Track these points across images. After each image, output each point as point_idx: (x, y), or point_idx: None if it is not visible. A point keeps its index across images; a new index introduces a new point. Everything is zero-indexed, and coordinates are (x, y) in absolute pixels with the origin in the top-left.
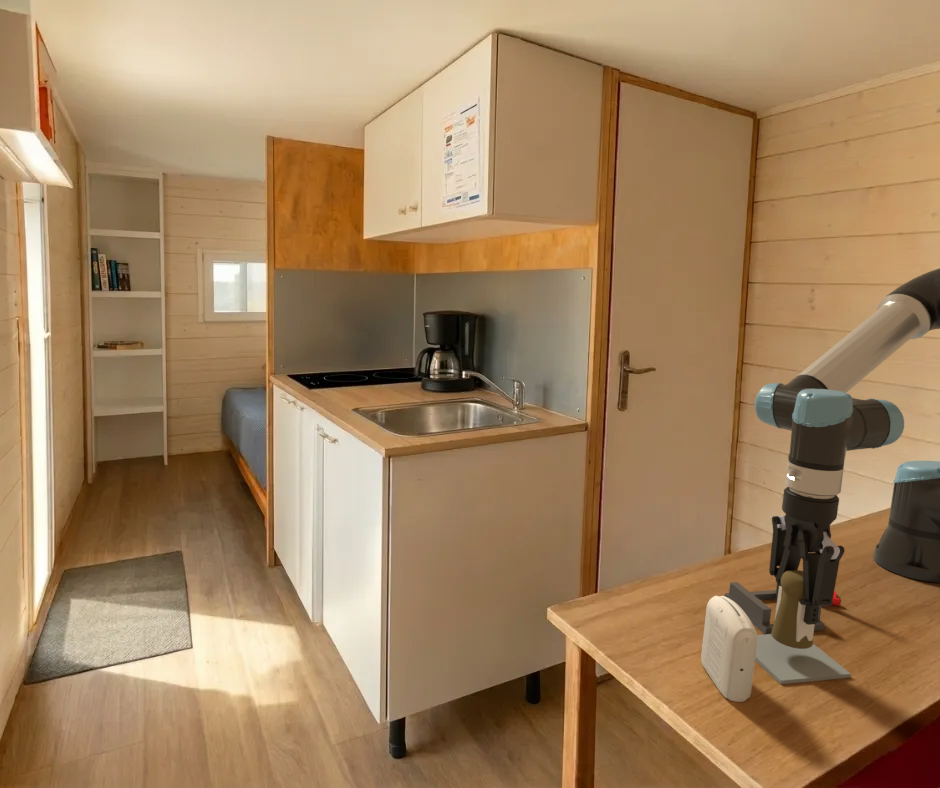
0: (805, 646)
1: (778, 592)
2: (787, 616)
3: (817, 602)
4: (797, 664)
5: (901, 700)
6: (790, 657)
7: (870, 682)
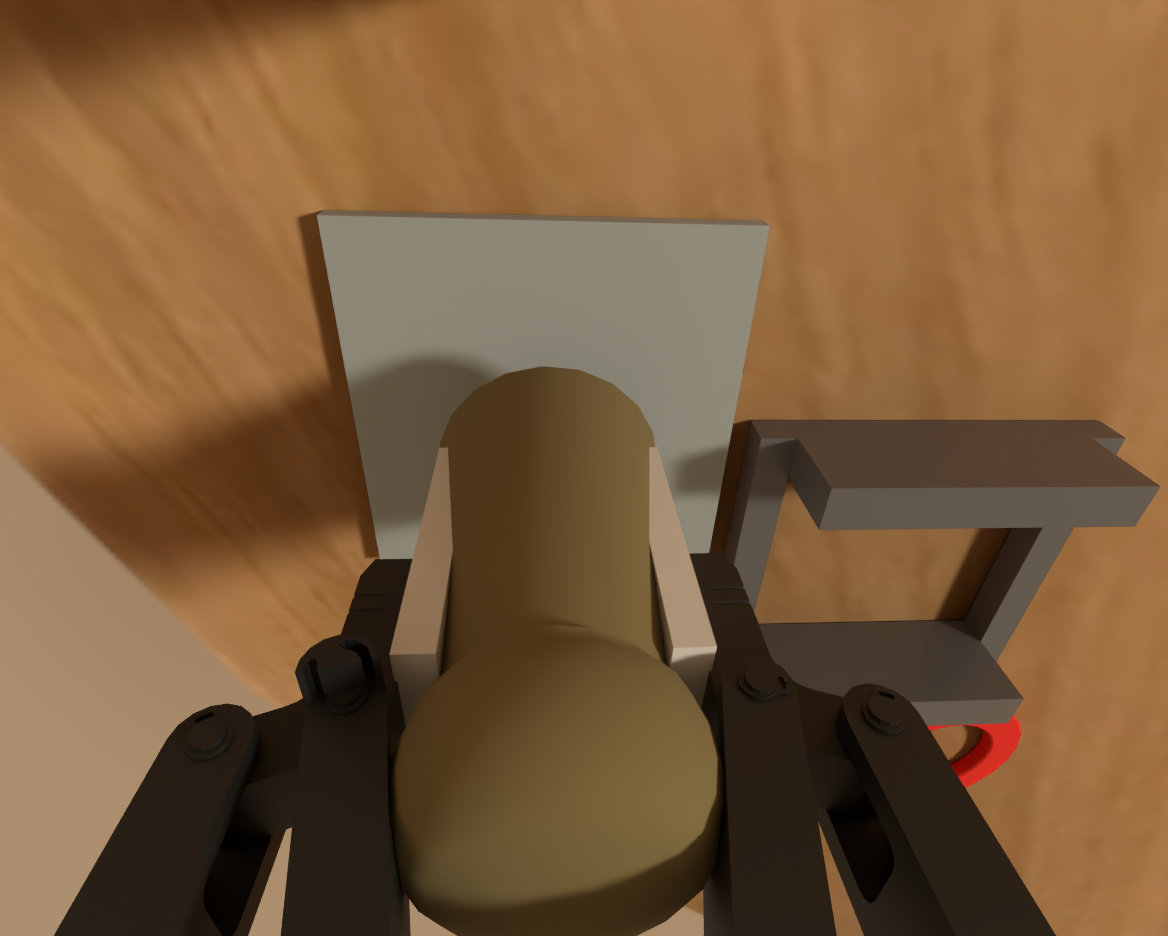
0: None
1: (700, 600)
2: (499, 499)
3: (167, 755)
4: (461, 400)
5: (242, 620)
6: None
7: (352, 596)
